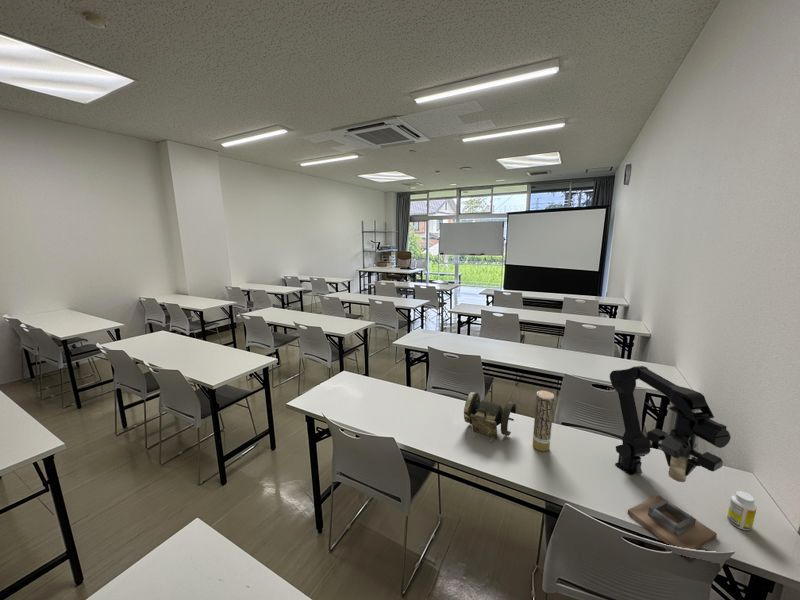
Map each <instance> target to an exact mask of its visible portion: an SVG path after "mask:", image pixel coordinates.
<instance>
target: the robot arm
mask: <svg viewBox="0 0 800 600" xmlns="http://www.w3.org/2000/svg"><path fill="white" fill-rule="evenodd" d="M609 380H610V383H611V386H612V388H613V389H614V390H615V391H616V392H617V395H618V399H619V405H620V409H621V410H620V411H621V415H622V421H623V425H624V432H623V435H622V439H621V440H622V444H619V445H615V451H616V453H618V460H617V462H615V464H614V465H615V466H617V467H618V468H619V469H621V470H622V471H624V472H625V473H627V474H629V475H630V476H632V475H633V476H634V475H636V474H638V473H640V472H642V471H643V469H642V464H643V463H642V457H645V456H646V455H649V454H650V452H651V449H652V446H651V445H652V444H651V443H650V442H653V443H654V444H656V443H657V444H656V446H657V447H658V448H660V450H661V451H662V452H663V454H664V456H665V459H666V463H667V466H668V467H670V461H671V456H672V457H674V458H679V457H680V456H681V457H682V456H683V457H685V458H688V457H689V456H690V459H688V460H687V462H688V465H687V468H686V472H685V475H686V476H687V477H688V476H689V475H690V474H691V473H692V472H693V471H694V469H696V468H697V467H702V468H704V469H706V470H708V471H710V472H715V471H717V470H719V469H721V468H722V467H723V464H724V461H723V460H722V458H721V457H720V456H717V455H715V454H712V453H710V452H708V451H706V452H704V453H703V452H701V451H697V450H695V448H697V444H696V440H697V437H698V438H700V439H702V440H703V441H705V442H707V443H709V444H711V445H713V446H714V447H715V448H719V449H722V448H725V447H726V446H727V445H728V444H729V443H730V441H731V434H730V432H729V430H727V427H728V426H727V425H725V424H723V423H719V422H717V421H715V420H714V418H715V416H714V414H713V412H712V410H711V409H710V407H709V404H708V402H707V400H706V397H705V395H704V394H702V393H701V392H699V391H696V390H694V389H691V388H688V387H684V386H680V385H677V384H675V383H673V382H672V381H669V380H668V379H666V378H665V377H663V376H660V375H659V374H657V373H656V372H654V371H652V370H651V369H649V368H648V367H647V366H644V365H637V366H632V367H630V368H626V369H615V370H612V371H611V372H610V373H609ZM637 380H640V381H641V382H643V383H645V384H646V385H648V386H650V387H651V388H653V389H654V390H656V391H658V392H660V393H661V394H662V395H664V396H665V397H667V398H668V401H669V402H670V403H671V404H672V405H673V406H670V407H669V410H670V411H673V412H674V413H675V417H674V424H673V428H672V429H671V430H670V432H669V433H667V432H666V431H663V430H662V429H659V428H653V429H651V430H648V431H647V432H646V434H644V433H643V432H642V430H641V426H640V419H639V415H638V411H637V406H636V405H637V404H636V400H635V395H634V392H635V389H636V386H637ZM695 411H699V412H695Z"/></svg>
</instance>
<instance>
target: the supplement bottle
mask: <svg viewBox="0 0 800 600" xmlns="http://www.w3.org/2000/svg"><path fill="white" fill-rule="evenodd" d="M729 501H730V502H729V506H728V511H727V514H726V515H727V516H726V518H727V521H728V522H730V524H732V526H735V527H736V528H738V529H741V530H743V531H751V530H752V528H753V526H754V523H755V516H756V512H757V505H756V504H755V498H754V497H753V496H752V495H750V494H749V493H747V492H745V491H740V490H739V491H738V490H737V491H736V492H735V495H732V496H731V497H730V500H729Z"/></svg>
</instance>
